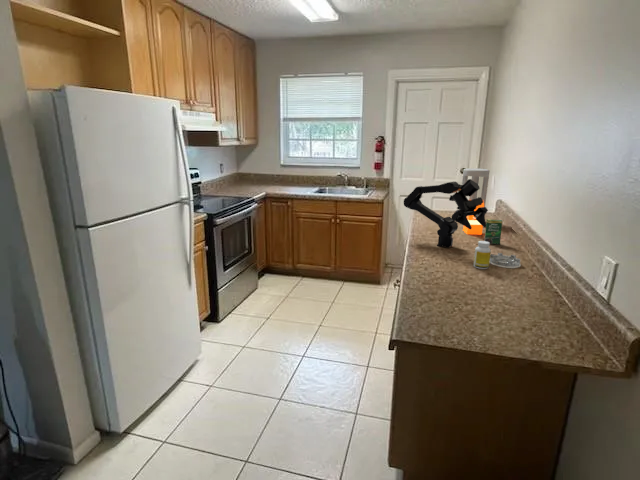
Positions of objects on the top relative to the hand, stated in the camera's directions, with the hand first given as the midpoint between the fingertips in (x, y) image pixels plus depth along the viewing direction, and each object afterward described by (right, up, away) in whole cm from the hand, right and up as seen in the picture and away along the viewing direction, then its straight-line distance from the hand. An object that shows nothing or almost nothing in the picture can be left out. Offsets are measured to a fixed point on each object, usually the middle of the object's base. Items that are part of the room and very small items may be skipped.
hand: (478, 227), depth 187 cm
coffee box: (+18, -8, +25) cm, 32 cm away
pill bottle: (-4, -18, -13) cm, 23 cm away
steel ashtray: (+9, -17, -7) cm, 20 cm away
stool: (+26, +7, +77) cm, 82 cm away
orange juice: (+15, -2, +47) cm, 50 cm away
